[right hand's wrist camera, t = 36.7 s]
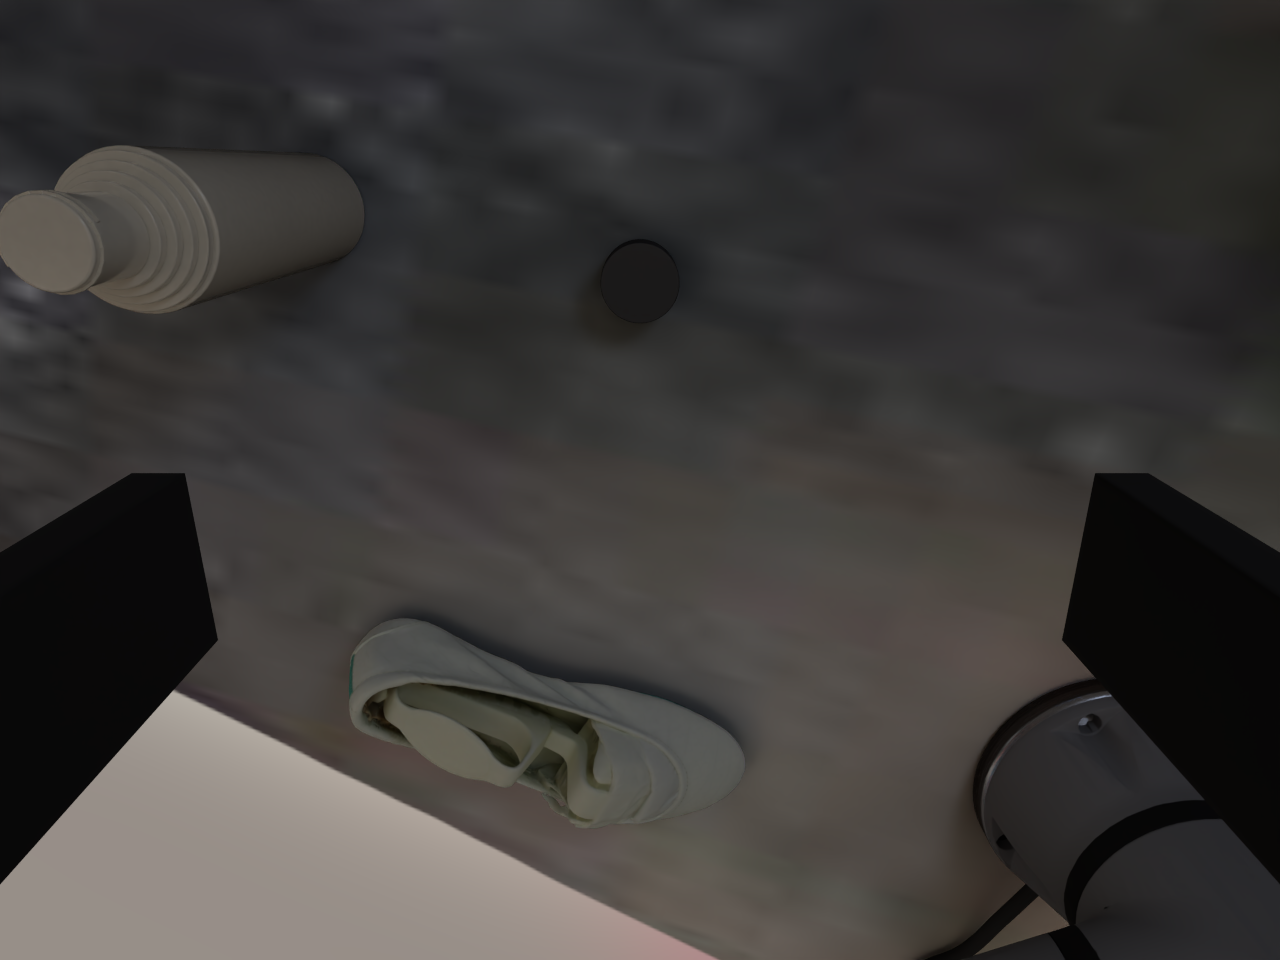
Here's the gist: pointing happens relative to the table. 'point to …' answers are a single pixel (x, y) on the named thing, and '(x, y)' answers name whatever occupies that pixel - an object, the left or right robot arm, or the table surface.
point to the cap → (640, 281)
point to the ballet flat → (538, 729)
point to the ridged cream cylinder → (180, 224)
